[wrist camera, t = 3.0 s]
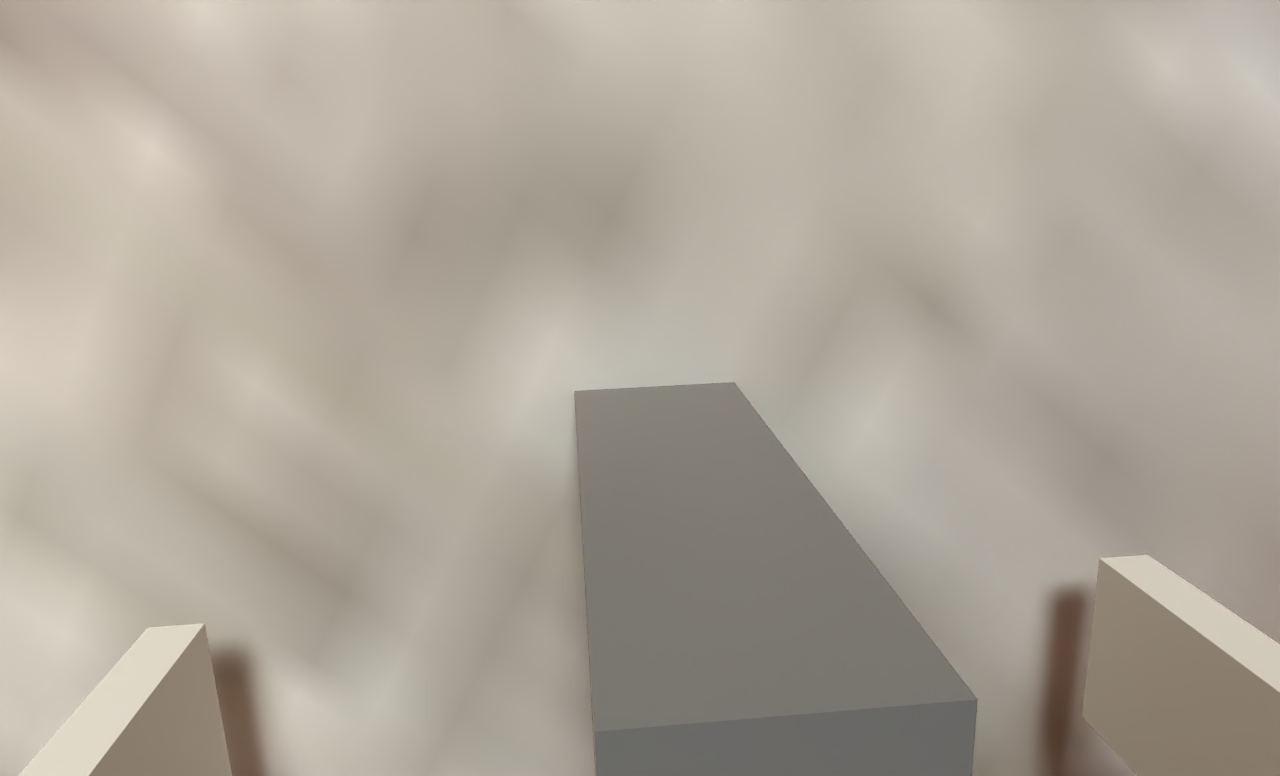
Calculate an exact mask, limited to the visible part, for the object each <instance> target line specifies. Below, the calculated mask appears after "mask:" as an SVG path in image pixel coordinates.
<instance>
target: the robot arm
mask: <svg viewBox="0 0 1280 776" xmlns="http://www.w3.org/2000/svg"><path fill="white" fill-rule="evenodd" d="M1082 717H1083V718H1084V719H1085V720H1086V721H1087V722H1088V723H1089V725H1090V726H1091V727H1092V728H1093V729H1094V730H1095V731H1096V732H1097V733H1098V734H1099V735H1100V736H1101V737H1102V738H1103V740H1104V741H1105V742H1106V743H1107V744H1108V745H1109V746H1110V747H1111V748H1112V749H1113V750H1114V751H1115V752H1116V753H1117V755H1118V756H1119V757H1120V758H1121V759H1122V760H1123V761H1124V762H1125V763H1126V764H1127V765H1128V766H1129V767H1130V768H1131V770H1132V771H1133V772H1134V773H1135V774H1136V775H1137V776H1280V644H1278V643H1277V642H1275V641H1274V640H1273V639H1271V638H1270V637H1268V636H1267V635H1265V634H1264V633H1262V632H1261V631H1259V630H1258V629H1256V628H1255V627H1253V626H1252V625H1250V624H1249V623H1247V622H1246V621H1244V620H1243V619H1242V618H1240V617H1239V616H1237V615H1236V614H1234V613H1233V612H1231V611H1230V610H1228V609H1227V608H1225V607H1224V606H1222V605H1221V604H1219V603H1218V602H1216V601H1215V600H1214V599H1212V598H1211V597H1209V596H1208V595H1206V594H1205V593H1203V592H1202V591H1200V590H1199V589H1197V588H1196V587H1194V586H1193V585H1191V584H1190V583H1188V582H1187V581H1185V580H1184V579H1183V578H1181V577H1180V576H1178V575H1177V574H1175V573H1174V572H1172V571H1171V570H1169V569H1168V568H1166V567H1165V566H1163V565H1162V564H1160V563H1159V562H1157V561H1156V560H1154V559H1153V558H1152V557H1150V556H1149V555H1138V556H1124V557H1110V558H1099V567H1098V576H1097V585H1096V594H1095V603H1094V611H1093V620H1092V629H1091V638H1090V647H1089V656H1088V665H1087V673H1086V682H1085V691H1084V700H1083V709H1082ZM18 776H232V772H231V766H230V761H229V755H228V750H227V744H226V739H225V733H224V728H223V722H222V717H221V711H220V705H219V700H218V694H217V689H216V683H215V678H214V672H213V667H212V661H211V656H210V650H209V645H208V639H207V634H206V628H205V623H204V624H190V625H177V626H163V627H149V628H147V629H146V630H145V631H144V633H143V634H142V635H141V636H140V637H139V638H138V639H137V641H136V642H135V643H134V644H133V645H132V646H131V647H130V649H129V650H128V651H127V652H126V653H125V654H124V655H123V657H122V658H121V659H120V660H119V661H118V662H117V663H116V665H115V666H114V667H113V668H112V669H111V670H110V671H109V673H108V674H107V675H106V676H105V677H104V678H103V679H102V681H101V682H100V683H99V684H98V685H97V686H96V687H95V689H94V690H93V691H92V692H91V693H90V694H89V695H88V697H87V698H86V699H85V700H84V701H83V702H82V703H81V704H80V706H79V707H78V708H77V709H76V710H75V711H74V712H73V714H72V715H71V716H70V717H69V718H68V719H67V720H66V722H65V723H64V724H63V725H62V726H61V727H60V728H59V730H58V731H57V732H56V733H55V734H54V735H53V736H52V738H51V739H50V740H49V741H48V742H47V743H46V744H45V746H44V747H43V748H42V749H41V750H40V751H39V752H38V754H37V755H36V756H35V757H34V758H33V759H32V760H31V762H30V763H29V764H28V765H27V766H26V767H25V768H24V770H23V771H22V772H21V773H20V774H19V775H18Z"/></svg>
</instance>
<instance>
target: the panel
mask: <svg viewBox="0 0 1280 776" xmlns="http://www.w3.org/2000/svg"><path fill="white" fill-rule="evenodd" d="M575 408H576V426H577V445H578V463H579V481H580V500H581V518H582V537H583V555H584V573H585V592H586V610H587V628H588V647H589V665H590V684H591V702H592V720H593V739H594V757H595V775H596V776H972V765H973V752H974V739H975V726H976V713H977V700H978V699H977V698H976V697H975V696H974V694H973V693H972V692H971V690H970V689H969V688H968V686H967V685H966V684H965V682H964V681H963V680H962V679H961V677H960V676H959V675H958V673H957V672H956V671H955V669H954V668H953V667H952V666H951V664H950V663H949V662H948V660H947V659H946V658H945V656H944V655H943V654H942V653H941V651H940V650H939V649H938V647H937V646H936V645H935V643H934V642H933V641H932V640H931V638H930V637H929V636H928V634H927V633H926V632H925V630H924V629H923V628H922V626H921V625H920V624H919V623H918V621H917V620H916V619H915V617H914V616H913V615H912V613H911V612H910V611H909V610H908V608H907V607H906V606H905V604H904V603H903V602H902V600H901V599H900V598H899V597H898V595H897V594H896V593H895V591H894V590H893V589H892V587H891V586H890V585H889V583H888V582H887V581H886V580H885V578H884V577H883V576H882V574H881V573H880V572H879V570H878V569H877V568H876V567H875V565H874V564H873V563H872V561H871V560H870V559H869V557H868V556H867V555H866V554H865V552H864V551H863V550H862V548H861V547H860V546H859V544H858V543H857V542H856V540H855V539H854V538H853V537H852V535H851V534H850V533H849V531H848V530H847V529H846V527H845V526H844V525H843V524H842V522H841V521H840V520H839V518H838V517H837V516H836V514H835V513H834V512H833V511H832V509H831V508H830V507H829V505H828V504H827V503H826V501H825V500H824V499H823V497H822V496H821V495H820V494H819V492H818V491H817V490H816V488H815V487H814V486H813V484H812V483H811V482H810V481H809V479H808V478H807V477H806V475H805V474H804V473H803V471H802V470H801V469H800V468H799V466H798V465H797V464H796V462H795V461H794V460H793V458H792V457H791V456H790V454H789V453H788V452H787V451H786V449H785V448H784V447H783V445H782V444H781V443H780V441H779V440H778V439H777V438H776V436H775V435H774V434H773V432H772V431H771V430H770V428H769V427H768V426H767V425H766V423H765V422H764V421H763V419H762V418H761V417H760V415H759V414H758V413H757V411H756V410H755V409H754V408H753V406H752V405H751V404H750V402H749V401H748V400H747V398H746V397H745V396H744V395H743V393H742V392H741V391H740V389H739V388H738V387H737V385H736V384H735V383H734V382H731V383H712V384H694V385H676V386H658V387H639V388H621V389H603V390H585V391H575Z"/></svg>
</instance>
